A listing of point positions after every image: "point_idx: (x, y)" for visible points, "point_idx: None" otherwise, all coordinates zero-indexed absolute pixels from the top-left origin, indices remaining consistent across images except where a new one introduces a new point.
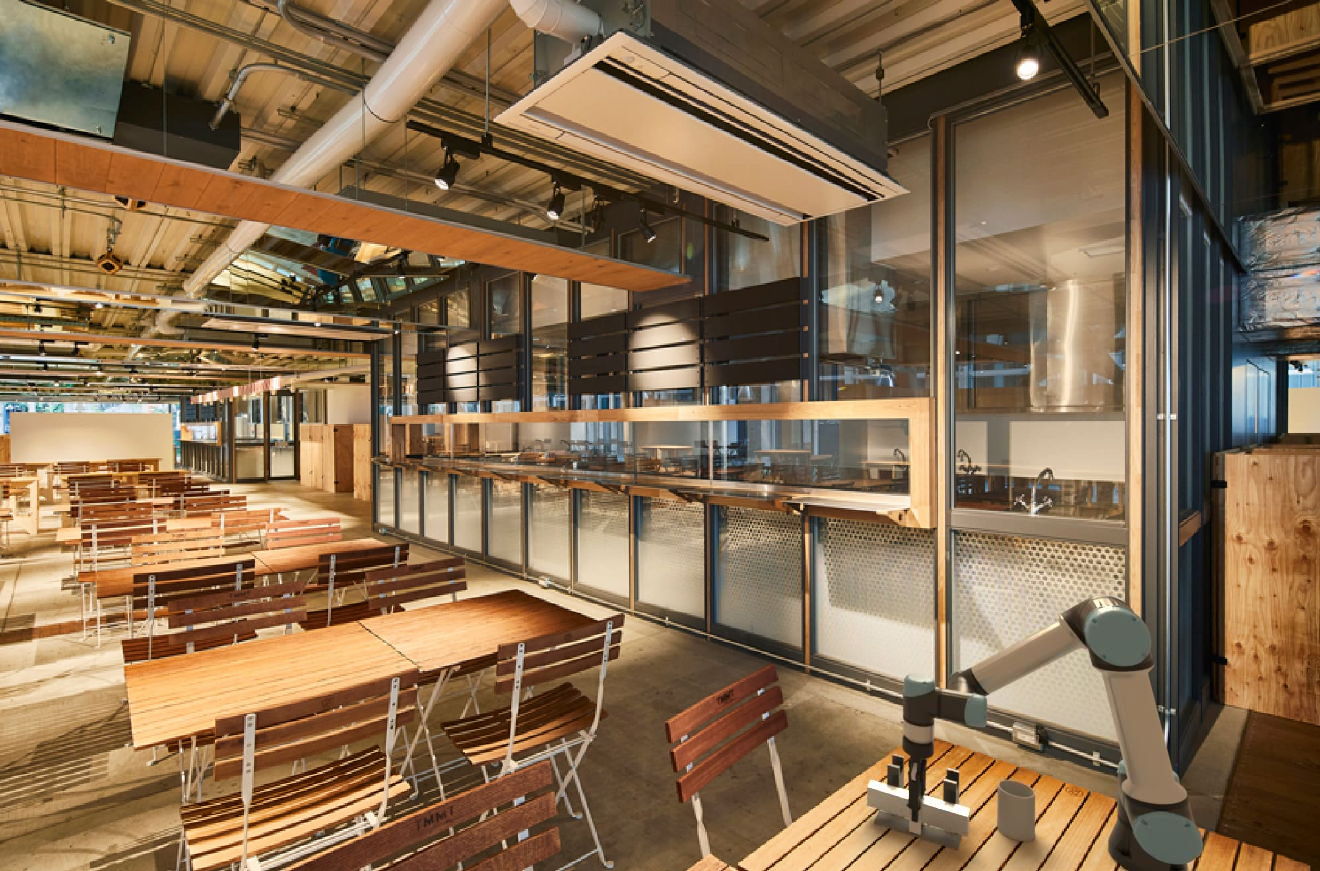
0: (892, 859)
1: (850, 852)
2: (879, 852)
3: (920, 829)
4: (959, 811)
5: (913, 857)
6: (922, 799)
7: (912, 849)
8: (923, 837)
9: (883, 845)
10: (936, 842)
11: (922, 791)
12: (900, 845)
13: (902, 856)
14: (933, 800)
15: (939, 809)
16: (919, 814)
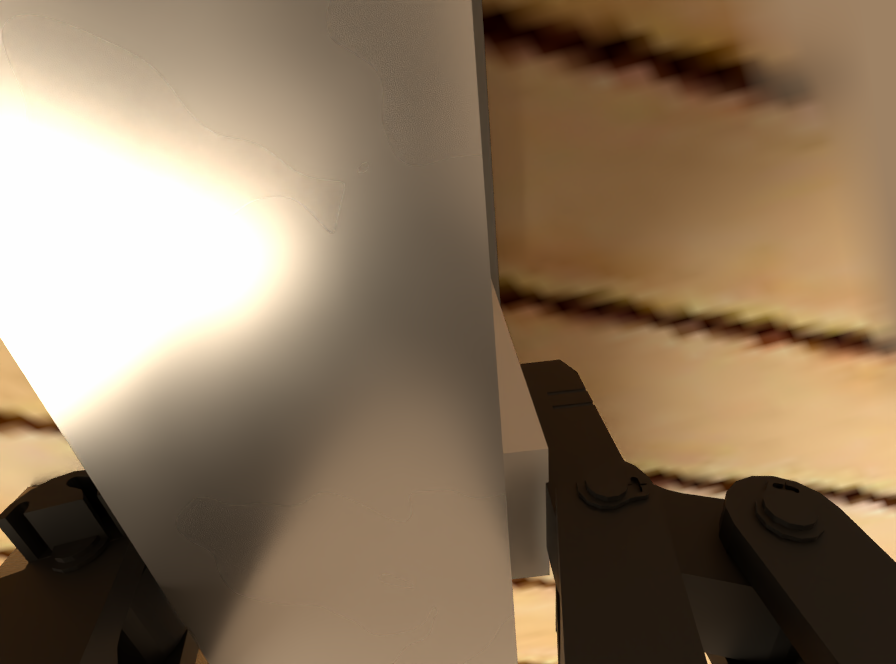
0: (892, 350)
1: (886, 537)
2: (833, 433)
3: (496, 297)
4: None
5: (815, 233)
6: (352, 551)
7: (700, 271)
8: (495, 243)
9: (740, 438)
10: (487, 112)
11: (101, 659)
12: (687, 356)
13: (830, 306)
14: (178, 382)
15: (473, 120)
16: (530, 404)
